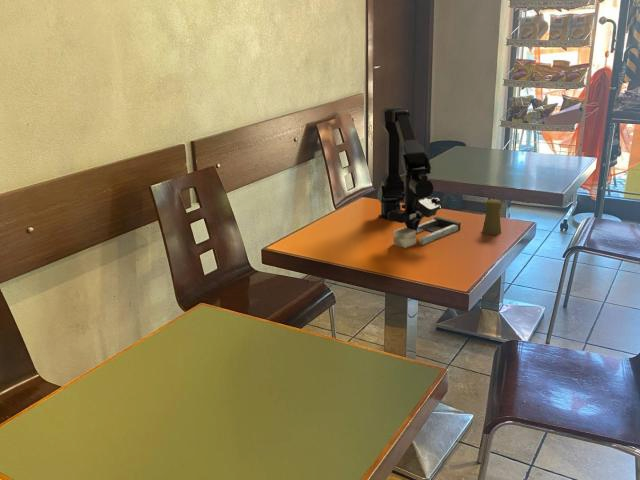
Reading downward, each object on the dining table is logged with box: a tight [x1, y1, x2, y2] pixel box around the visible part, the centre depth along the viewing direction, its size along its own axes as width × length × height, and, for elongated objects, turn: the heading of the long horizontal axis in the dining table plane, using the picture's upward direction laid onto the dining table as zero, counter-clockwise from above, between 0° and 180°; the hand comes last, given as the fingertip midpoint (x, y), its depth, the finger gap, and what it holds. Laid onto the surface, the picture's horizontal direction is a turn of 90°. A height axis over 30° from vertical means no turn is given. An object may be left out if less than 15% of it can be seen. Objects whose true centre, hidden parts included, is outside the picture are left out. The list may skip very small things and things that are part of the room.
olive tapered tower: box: [481, 198, 503, 236], centre depth 205 cm, size 6×6×11 cm
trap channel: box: [416, 216, 462, 246], centre depth 207 cm, size 10×20×2 cm, turn 132°
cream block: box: [393, 226, 417, 249], centre depth 198 cm, size 5×5×4 cm
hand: (412, 235), depth 201 cm, fingers closed
